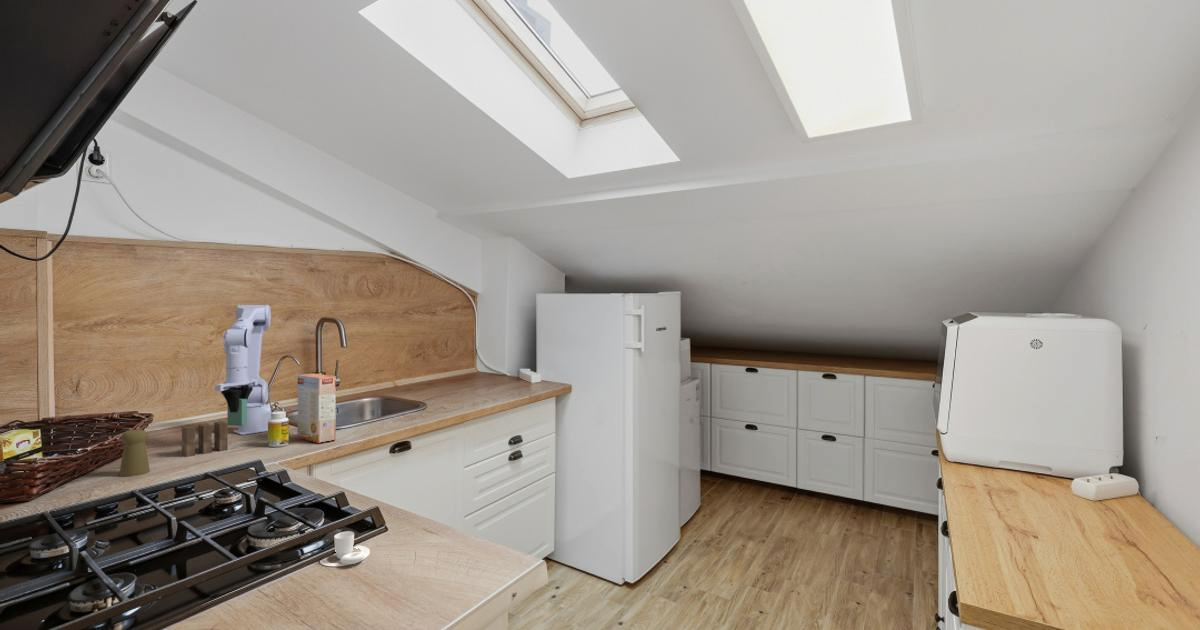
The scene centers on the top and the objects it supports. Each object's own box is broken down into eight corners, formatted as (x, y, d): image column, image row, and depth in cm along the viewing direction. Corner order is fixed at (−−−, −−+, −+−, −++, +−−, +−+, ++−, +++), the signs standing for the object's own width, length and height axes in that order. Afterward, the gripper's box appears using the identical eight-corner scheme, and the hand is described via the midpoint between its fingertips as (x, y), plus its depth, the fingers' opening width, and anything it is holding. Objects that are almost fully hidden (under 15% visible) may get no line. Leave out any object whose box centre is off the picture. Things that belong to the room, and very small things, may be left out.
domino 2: (206, 449, 165) (206, 423, 165) (211, 452, 162) (211, 425, 161) (198, 451, 163) (198, 424, 163) (203, 454, 160) (203, 426, 160)
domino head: (232, 424, 172) (232, 398, 172) (246, 424, 172) (246, 398, 172) (227, 425, 170) (227, 399, 170) (241, 425, 170) (241, 399, 170)
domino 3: (222, 447, 168) (221, 421, 168) (227, 450, 165) (227, 423, 165) (214, 448, 166) (214, 422, 166) (219, 451, 163) (219, 424, 163)
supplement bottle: (282, 447, 168) (282, 414, 168) (264, 447, 167) (263, 414, 167) (292, 443, 173) (292, 410, 173) (274, 443, 173) (274, 410, 173)
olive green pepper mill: (155, 470, 143) (155, 428, 143) (129, 477, 138) (128, 433, 138) (140, 468, 145) (139, 427, 145) (113, 475, 140) (113, 432, 140)
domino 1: (190, 452, 162) (190, 425, 162) (195, 455, 158) (195, 427, 158) (181, 453, 160) (181, 426, 160) (186, 456, 157) (186, 428, 157)
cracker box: (336, 440, 176) (336, 375, 176) (317, 444, 172) (317, 377, 171) (315, 434, 185) (315, 372, 184) (296, 438, 180) (296, 374, 180)
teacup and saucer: (366, 568, 91) (366, 543, 91) (313, 574, 89) (313, 549, 89) (372, 546, 100) (372, 523, 100) (324, 551, 98) (324, 528, 98)
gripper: (243, 365, 179) (244, 406, 179) (205, 369, 164) (205, 415, 164) (263, 365, 178) (263, 407, 178) (226, 370, 163) (226, 415, 163)
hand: (237, 411), depth 171 cm, fingers closed on domino head, 2 cm apart
